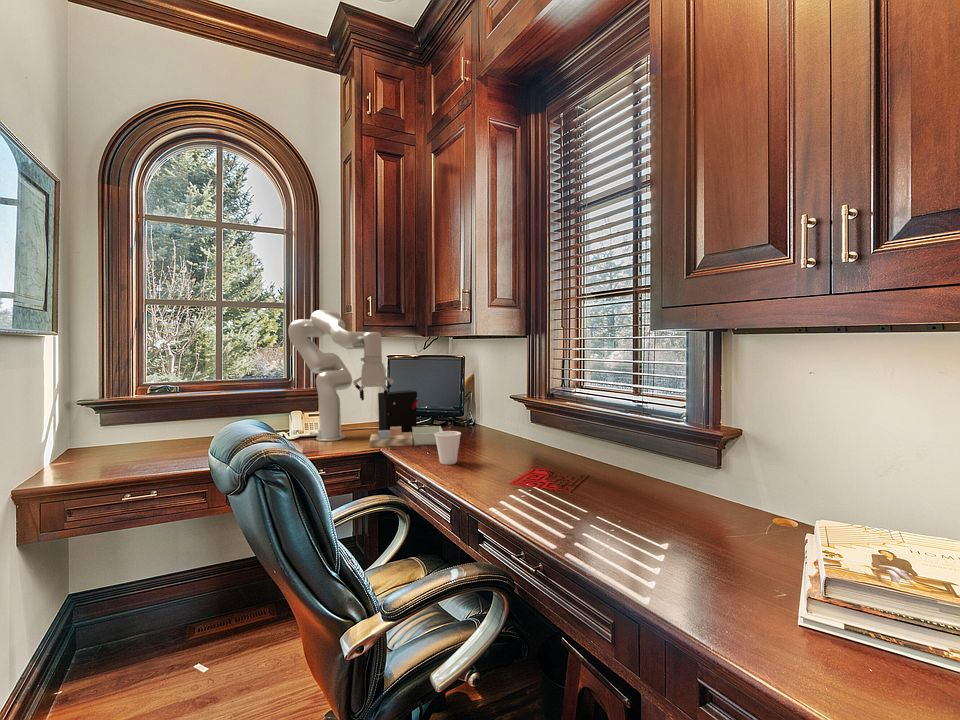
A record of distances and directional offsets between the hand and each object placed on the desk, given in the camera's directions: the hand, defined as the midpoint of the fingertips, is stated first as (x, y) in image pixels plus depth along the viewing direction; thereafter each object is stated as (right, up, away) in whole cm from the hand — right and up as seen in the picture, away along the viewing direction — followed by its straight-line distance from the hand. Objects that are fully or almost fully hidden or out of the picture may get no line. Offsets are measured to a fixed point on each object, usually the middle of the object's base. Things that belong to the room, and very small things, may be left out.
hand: (373, 399), depth 221 cm
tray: (+23, -19, +6) cm, 30 cm away
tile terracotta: (+8, -16, +8) cm, 20 cm away
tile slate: (+5, -17, -1) cm, 17 cm away
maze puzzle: (+69, -22, -57) cm, 92 cm away
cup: (+35, -21, -34) cm, 53 cm away
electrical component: (+6, -19, +28) cm, 34 cm away
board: (+7, -19, +4) cm, 21 cm away
